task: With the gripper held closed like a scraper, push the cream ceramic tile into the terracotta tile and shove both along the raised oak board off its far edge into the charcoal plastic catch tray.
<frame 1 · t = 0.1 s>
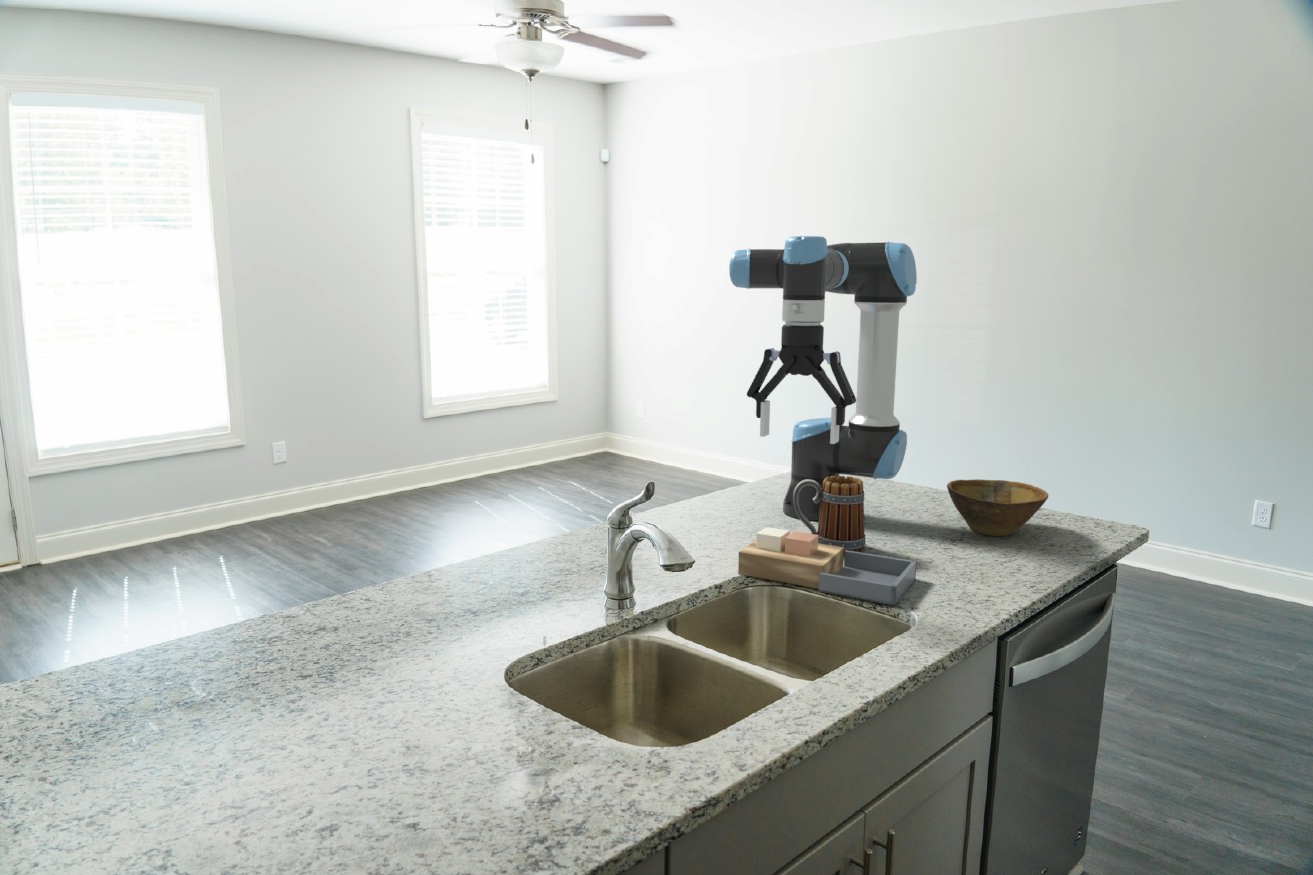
hand: (798, 439, 164), 28 cm above the worktop, fingers open, 13 cm apart
tile terracotta: (801, 551, 174), point 4 cm above the worktop, touching oak board
mug: (828, 548, 191), on the worktop
tile cream: (772, 546, 176), point 4 cm above the worktop, touching oak board
bowl: (993, 531, 203), on the worktop
oak board: (791, 571, 175), on the worktop
catch tray: (868, 584, 168), on the worktop
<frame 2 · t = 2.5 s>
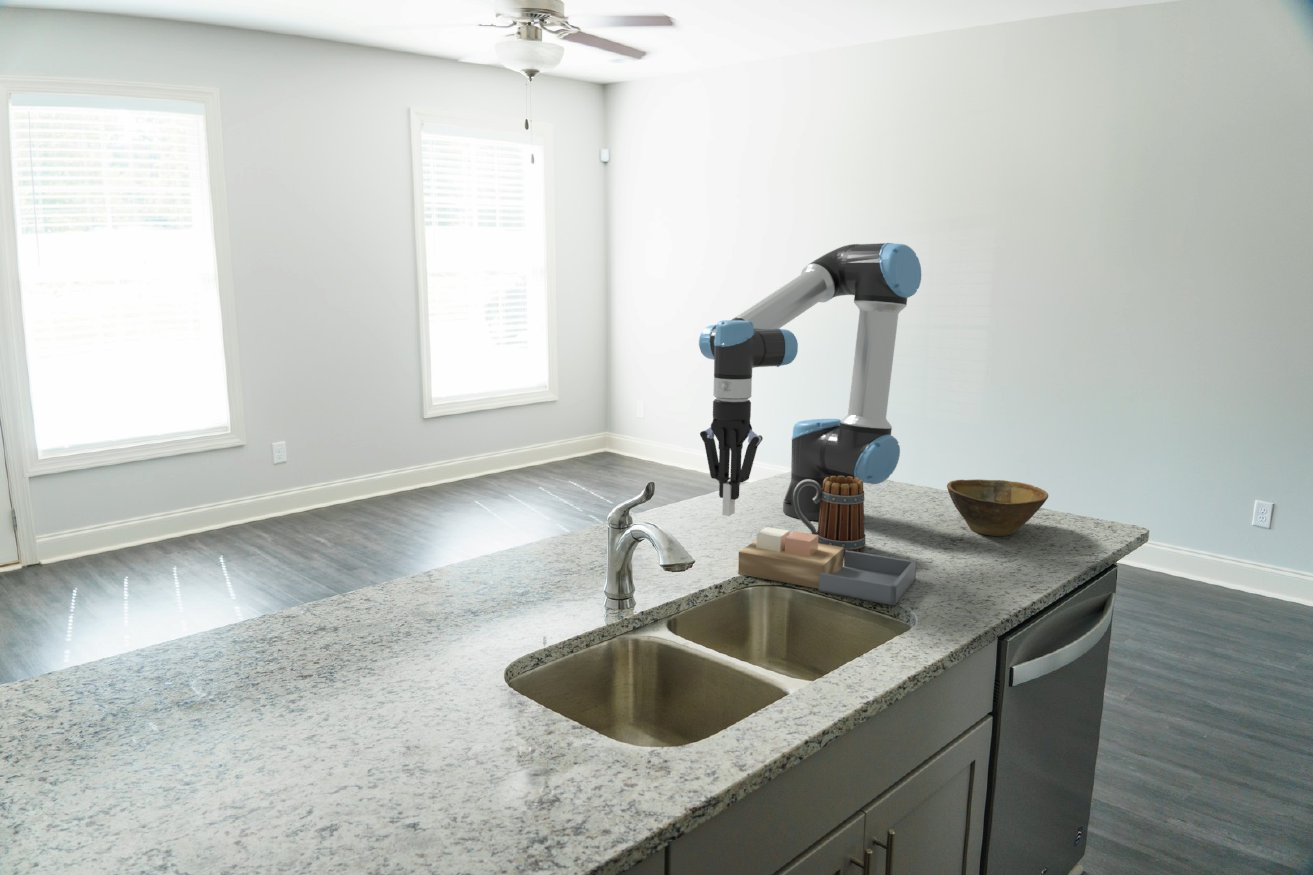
hand: (728, 513, 180), 10 cm above the worktop, fingers closed
nothing on the worktop moved.
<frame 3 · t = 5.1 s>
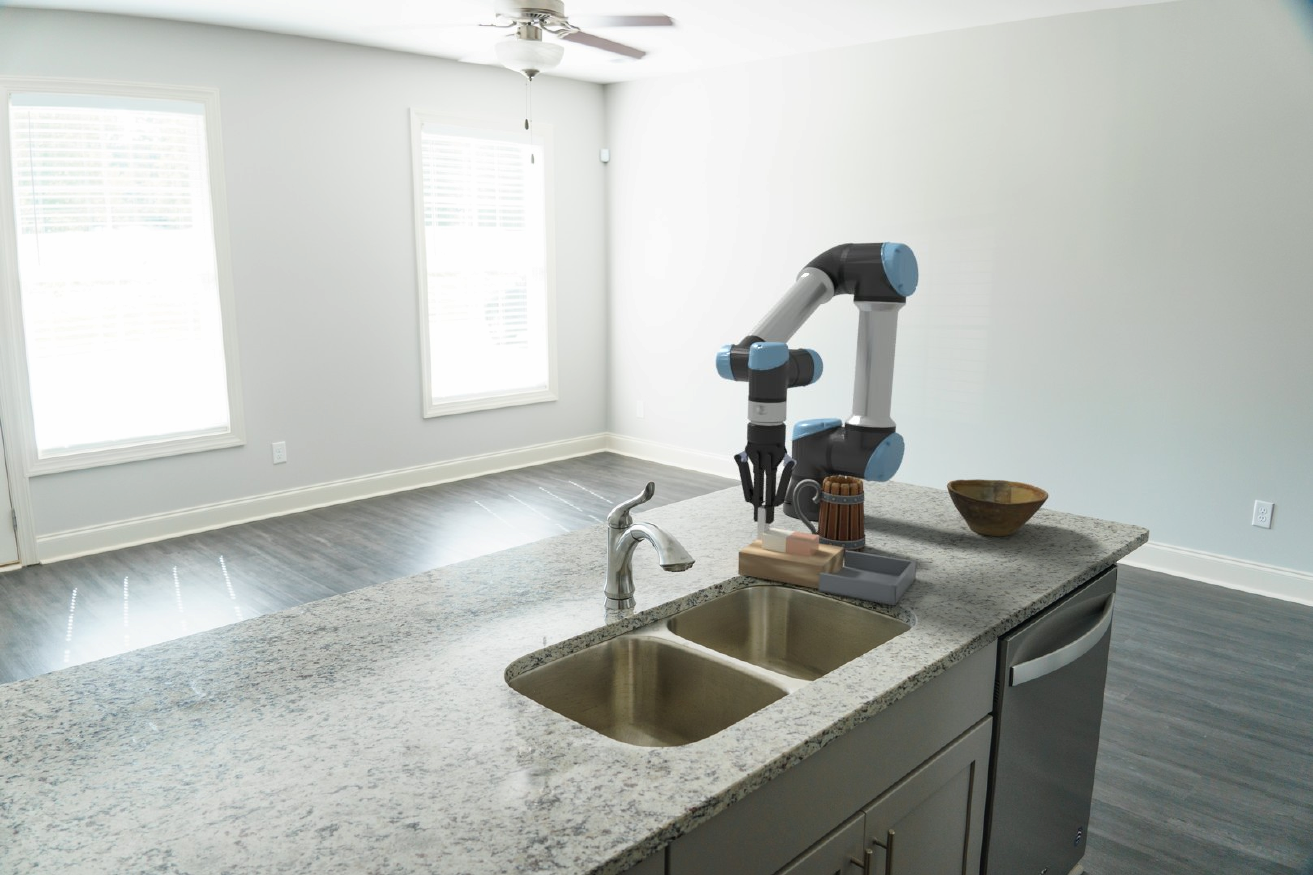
hand: (763, 537, 177), 6 cm above the worktop, fingers closed
tile terracotta: (802, 551, 173), point 5 cm above the worktop, touching tile cream
tile cream: (778, 547, 176), point 5 cm above the worktop, touching gripper, tile terracotta
everything else where it was.
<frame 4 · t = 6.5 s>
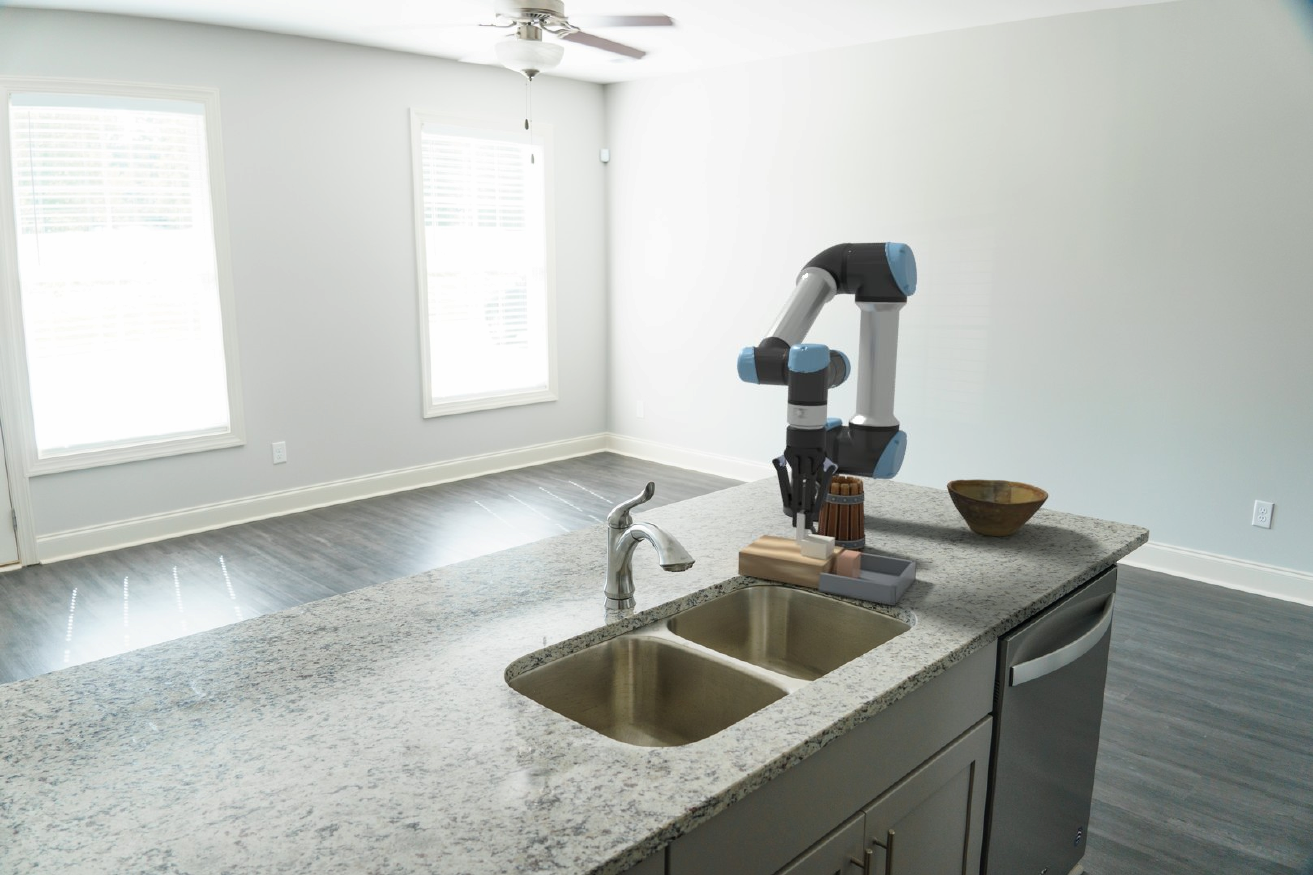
hand: (801, 544, 173), 6 cm above the worktop, fingers closed
tile terracotta: (841, 565, 170), point 3 cm above the worktop, tilted 90°
tile cream: (817, 553, 172), point 5 cm above the worktop, touching gripper
everything else where it was.
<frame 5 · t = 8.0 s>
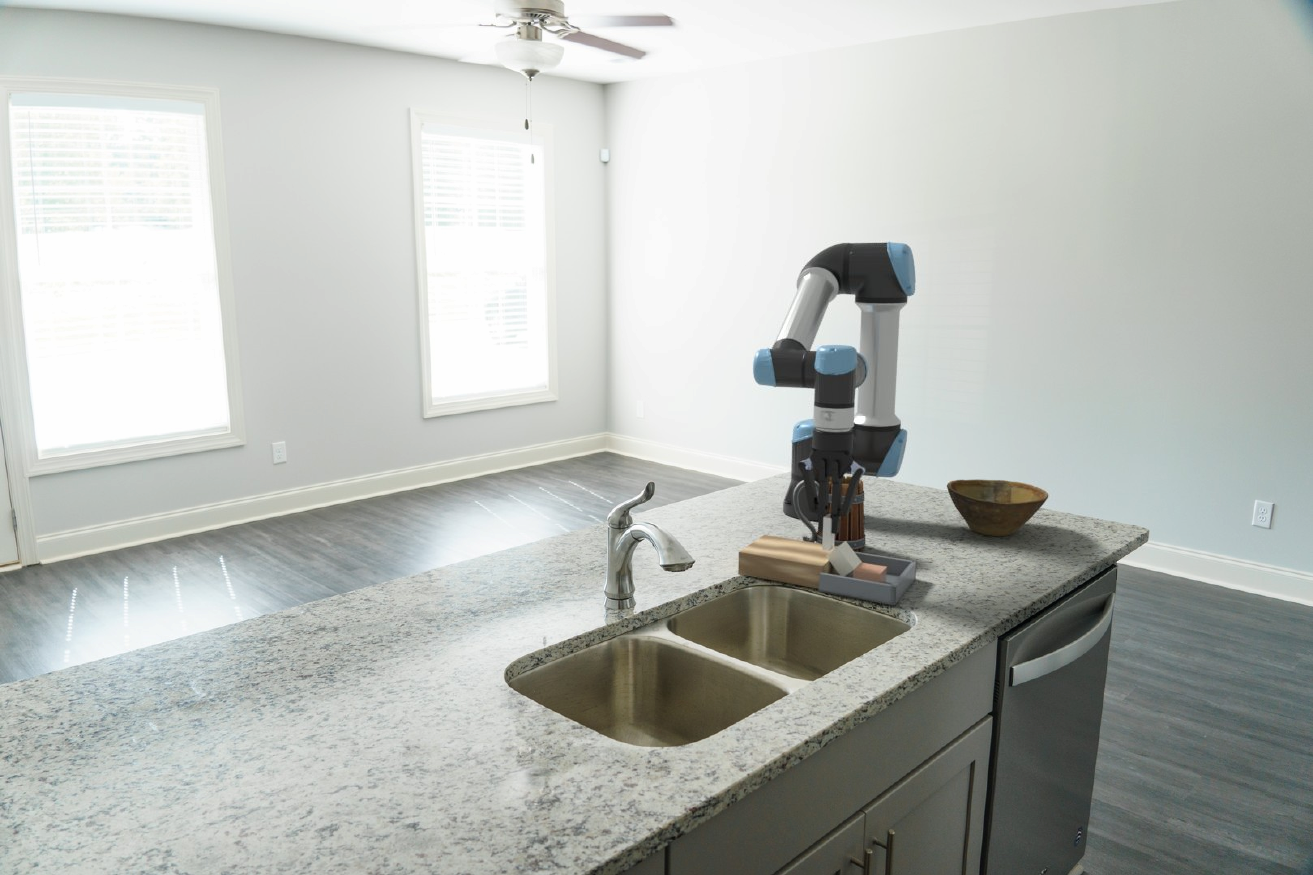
hand: (828, 548, 171), 6 cm above the worktop, fingers closed
tile terracotta: (870, 568, 167), point 3 cm above the worktop, tilted 180°, touching catch tray, tile cream
tile cream: (838, 563, 170), point 3 cm above the worktop, tilted 48°, touching oak board, tile terracotta
everything else where it was.
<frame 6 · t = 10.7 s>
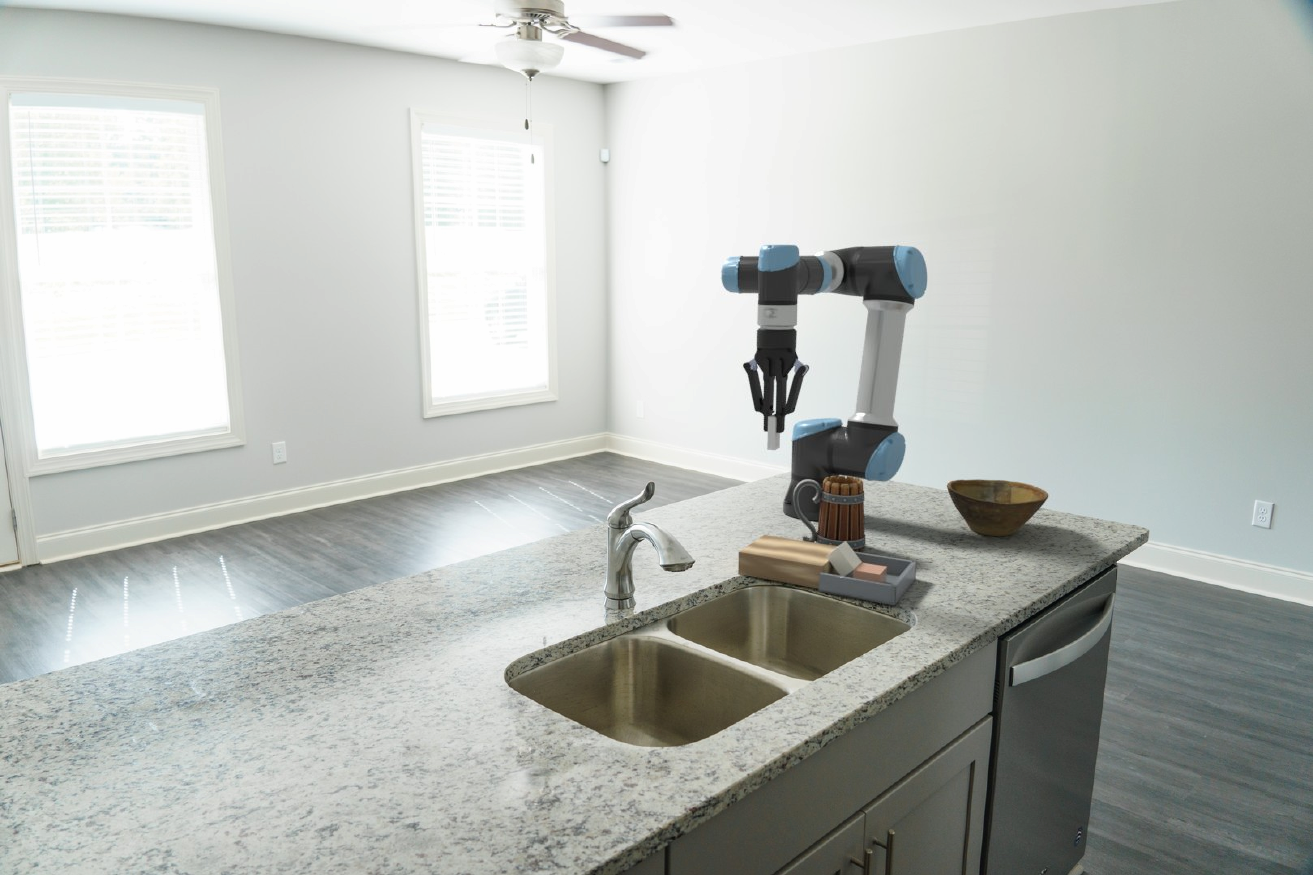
hand: (773, 448, 173), 24 cm above the worktop, fingers closed
nothing on the worktop moved.
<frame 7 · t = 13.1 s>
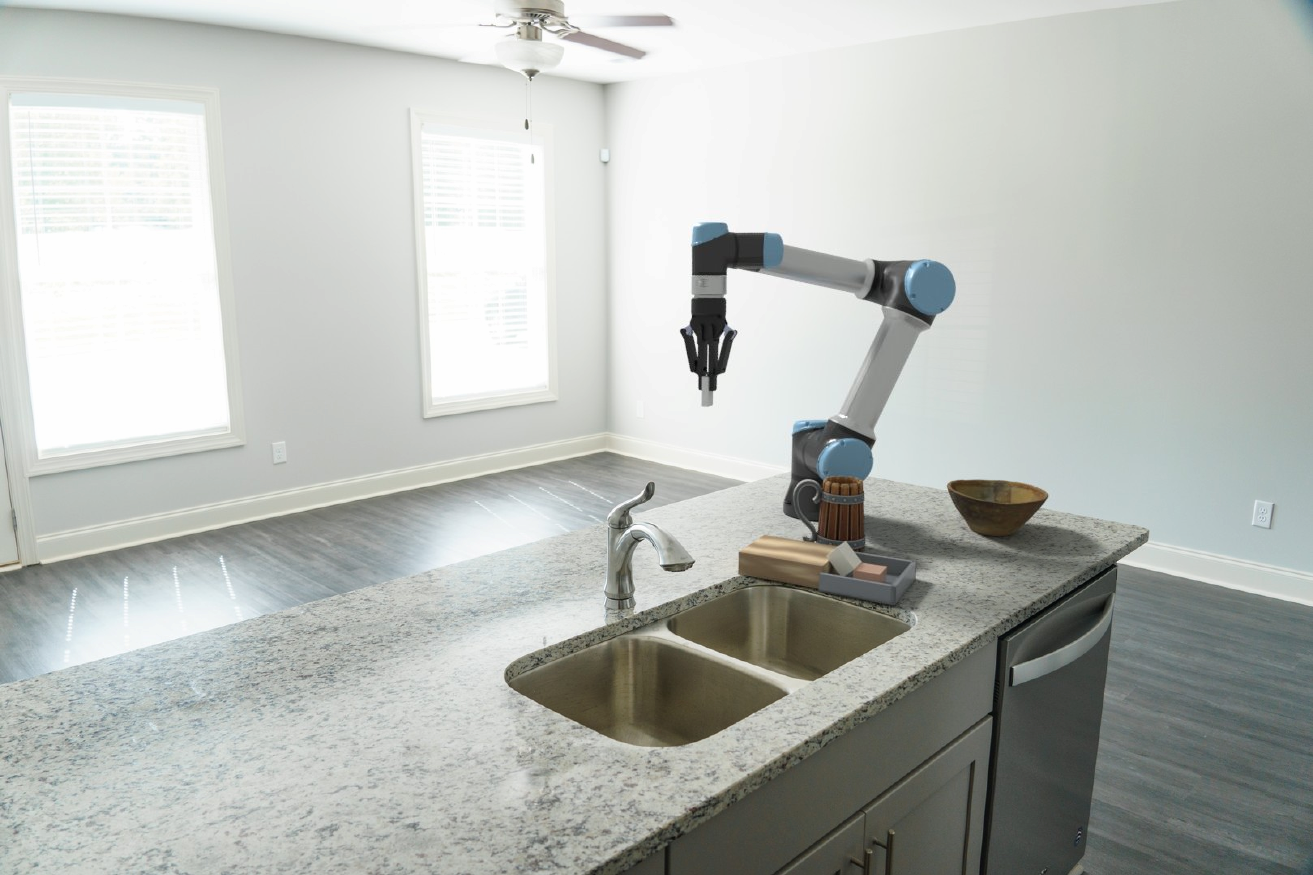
hand: (707, 405, 194), 29 cm above the worktop, fingers closed
nothing on the worktop moved.
at the end: tile cream inside the target area (6.8 cm from its centre), point 3.4 cm above the worktop; tile terracotta inside the target area (0.6 cm from its centre), point 3.4 cm above the worktop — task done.
